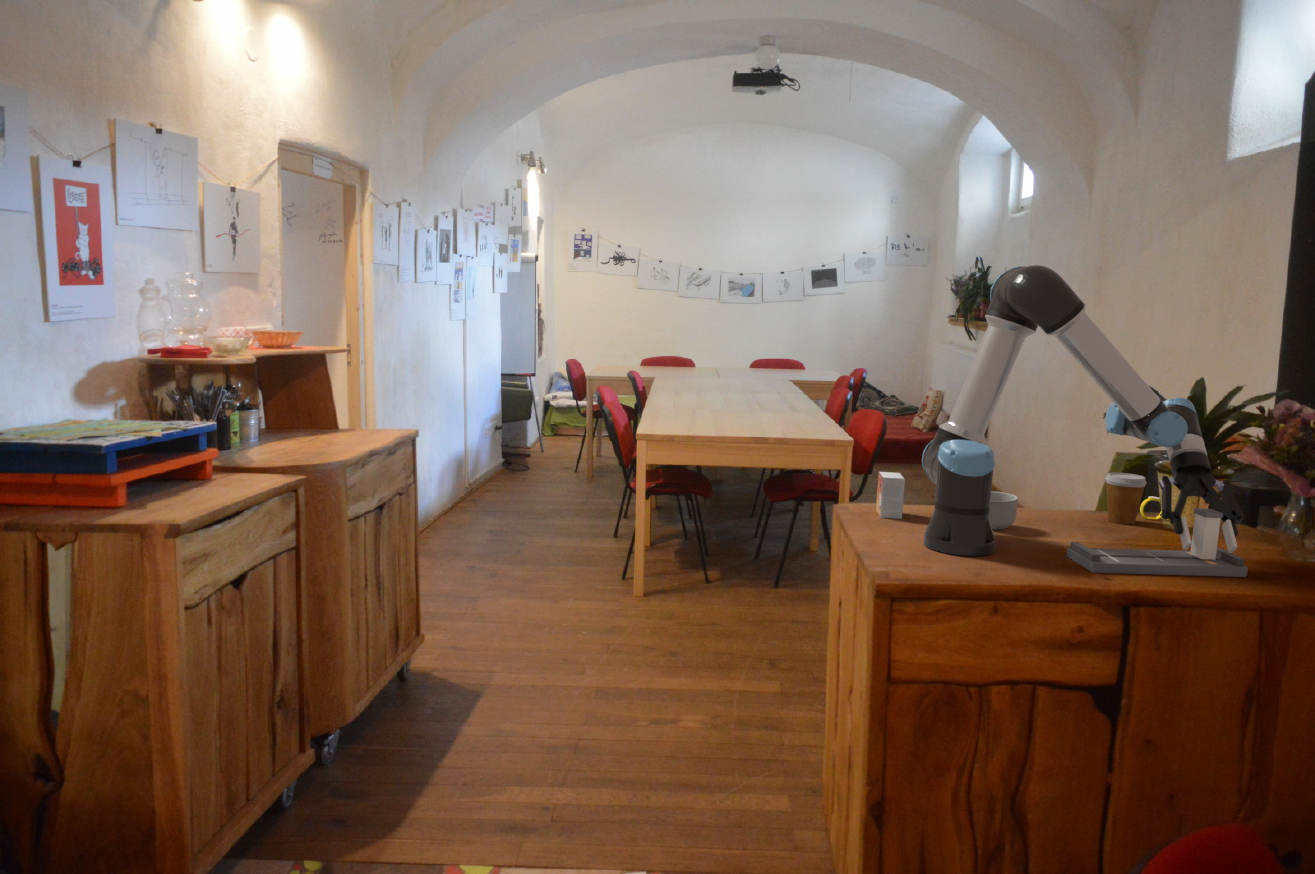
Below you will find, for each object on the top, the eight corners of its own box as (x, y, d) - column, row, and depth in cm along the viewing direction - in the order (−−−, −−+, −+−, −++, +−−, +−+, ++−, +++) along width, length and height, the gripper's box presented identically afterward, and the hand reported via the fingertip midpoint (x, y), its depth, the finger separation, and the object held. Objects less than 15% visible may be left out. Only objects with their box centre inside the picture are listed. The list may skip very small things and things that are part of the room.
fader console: (1092, 572, 188) (1094, 556, 187) (1066, 556, 200) (1067, 540, 199) (1246, 576, 188) (1248, 560, 188) (1211, 560, 200) (1213, 544, 200)
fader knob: (1200, 559, 191) (1206, 512, 190) (1188, 553, 196) (1194, 508, 194) (1216, 559, 192) (1222, 513, 190) (1204, 554, 196) (1210, 508, 194)
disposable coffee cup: (1138, 519, 238) (1143, 474, 236) (1145, 527, 229) (1150, 480, 227) (1098, 515, 241) (1103, 471, 239) (1103, 523, 232) (1108, 477, 230)
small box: (875, 510, 238) (878, 471, 237) (897, 512, 238) (900, 472, 236) (879, 518, 230) (882, 477, 229) (902, 519, 230) (905, 478, 228)
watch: (1159, 519, 240) (1163, 497, 239) (1164, 521, 237) (1169, 499, 236) (1136, 516, 240) (1140, 494, 239) (1142, 519, 237) (1146, 497, 236)
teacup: (1021, 533, 219) (1024, 500, 218) (976, 531, 220) (979, 499, 218) (1001, 519, 233) (1004, 488, 232) (958, 517, 233) (961, 487, 232)
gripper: (1232, 471, 205) (1257, 560, 191) (1132, 466, 208) (1150, 553, 195) (1246, 452, 199) (1273, 542, 185) (1143, 446, 202) (1162, 535, 189)
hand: (1210, 548), depth 190 cm, fingers open, 8 cm apart
